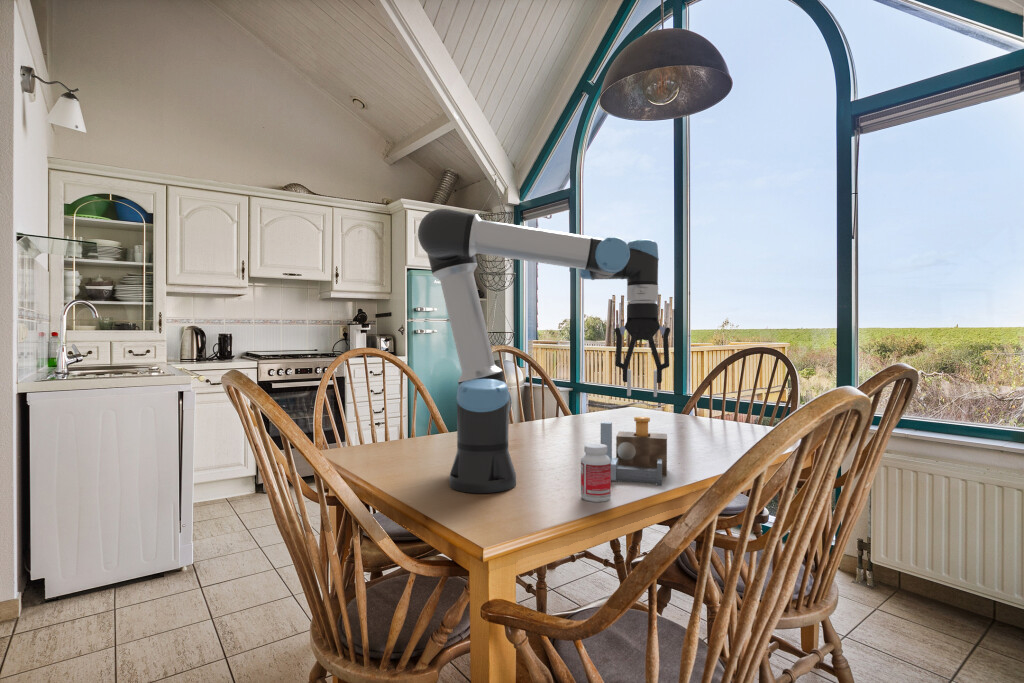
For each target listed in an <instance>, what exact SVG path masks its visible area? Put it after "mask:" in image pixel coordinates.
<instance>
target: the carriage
mask: <svg viewBox="0 0 1024 683" xmlns="http://www.w3.org/2000/svg"><path fill="white" fill-rule="evenodd" d="M600 444H605V445H607V453H606V455H607V456H608V457H609V458H610V460H611V480H616V467H617V465H618V458H616V457H613V445H612V444H613V422H612V421H601V422H600Z"/></svg>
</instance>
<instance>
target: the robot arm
mask: <svg viewBox="0 0 1024 683" xmlns="http://www.w3.org/2000/svg"><path fill="white" fill-rule="evenodd" d="M421 219H422V220H421V221H420V223H419V224H418V230H417V238H418V242H419V244H420V247H421V248H422V250H423V251H424V252H426V254H427V257H428V262H429V265H430V269H431V274H432V277H434V278H435V279H437V280H438V281H440V286H441V290H442V294H443V297H444V303H445V306H446V310H447V314H448V318H449V324H450V327H451V331H452V336H453V339H454V344H455V349H456V353H457V356H458V361H459V366H460V369H461V370H460V371H461V375H460V377H459V378H458V380H457V382H458V385H457V386H458V387H457V390H456V391H457V393H456V403H457V404H456V405H457V406H456V407H457V408H456V409H457V411H456V412H457V413H456V415H457V417H456V418H457V419H456V420H457V421H456V422H457V425H456V429H457V430H456V431H457V432H456V434H457V436H456V438H457V439H456V440H457V441H456V444H457V445H456V446H457V448H456V453H455V455H454V456H455V457H454V460H453V463H452V466H451V469H450V473H449V480H448V481H449V482H448V483H449V484H448V485H449V487H450V488H451V489H453V490H456V491H458V492H461V493H469V494H470V493H471V494H491V493H499V492H500V493H501V492H505V491H508V490H511V489H512V488H515V486H516V484H517V473H516V469H515V466H514V464H513V460H512V457H511V455H510V451H509V415H510V412H511V408H512V398H511V394H510V391H509V387H508V385H507V383H506V379H505V374H504V370H503V369H502V368H501V367H499V366H497V365H496V364H495V358H494V354H493V351H492V347H491V342H490V337H489V334H488V328H487V325H486V321H485V317H484V316H485V315H484V312H483V308H482V305H481V300H480V295H479V292H478V287H477V283H476V279H475V275H474V273H475V270H476V269H477V267H478V262H477V257H476V255H477V254H479V255H485V256H492V257H499V258H507V259H511V260H518V261H519V260H520V261H527V262H533V263H541V264H546V265H553V266H557V267H564V268H566V267H567V268H572V269H578V274H579V277H580V279H583V280H592V281H595V280H626V284H627V285H626V301H627V302H628V304H627V305H626V322H625V324H624V325H623V326H619V327H615V328H614V333H615V337H616V342H615V343H616V344H615V345H616V346H615V347H616V349H615V362H614V365H615V366H616V367H617V368H620V369H621V370H622V382H623V383H626V396H627V397H631V395H632V369H629V366H630V362H631V360H632V356H633V353H634V351H635V350H634V349H635V346H636V343H637V341H641V340H643V341H647V342H648V344H649V348H650V350H651V353H652V354H651V355H652V357H653V360H654V364H655V367H656V369H653V398H657V397H658V384H661V383H662V381H663V370H665V369H667V368H669V367H670V348H669V337H670V332H671V328H670V327H669V326H668V327H667V326H666V327H665V326H662V325H661V324H660V323H659V305H658V304H657V302H658V301H659V248H658V243H657V242H656V241H655V240H652V239H634V240H630V241H629V242H626V241H625V240H624V239H622V238H621V237H616V236H610V237H606V238H601V237H593V236H588V235H581V234H576V233H569V232H563V231H557V230H556V231H555V230H549V229H542V228H535V227H530V226H524V225H518V224H517V225H516V224H511V223H504V222H497V221H492V220H491V221H490V220H484V219H481V217H480V216H479V215H478V214H476V213H470V212H464V211H459V210H453V209H449V208H448V209H447V208H438V209H434V210H431V211H430V212H428V213H427V214H426V215H425V216H423V218H421ZM625 331H626V332H627V333H628V334H629V335H630V337H631V338H630V341H629V345H628V348H627V351H626V354H625V356H624V357H625V358H624V361H623V362H622V352H623V336H624V334H625ZM658 331H660V335H662V340H663V341H662V342H663V343H662V344H663V347H662V348H663V363H662V362H661V360H660V355H659V352H658V349H657V346H656V343H655V340H654V337H655V335H656V334H657V333H658Z"/></svg>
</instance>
